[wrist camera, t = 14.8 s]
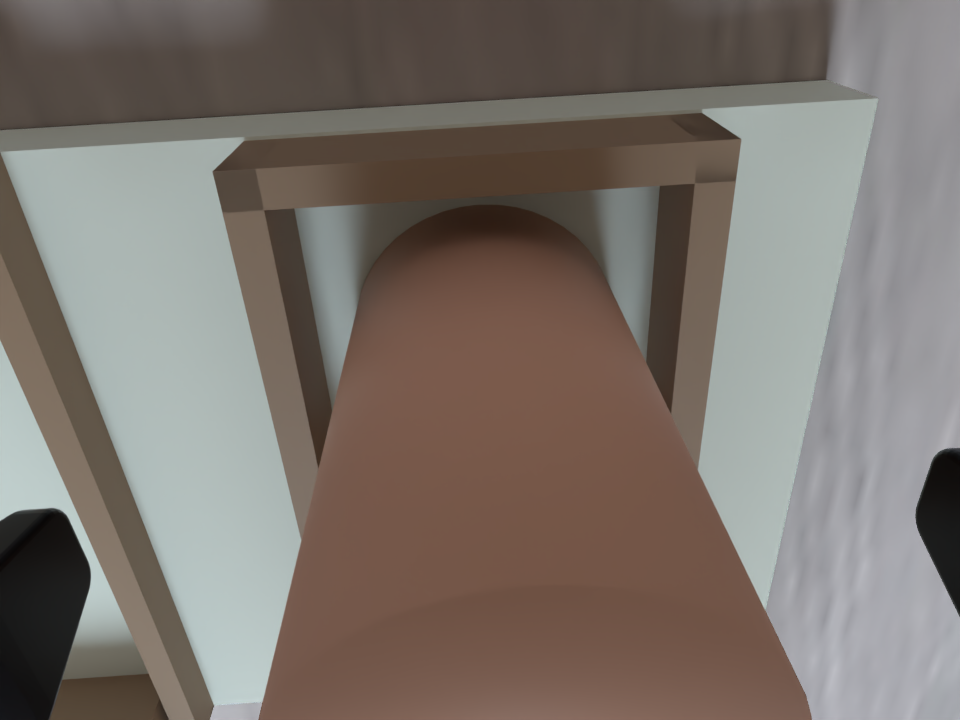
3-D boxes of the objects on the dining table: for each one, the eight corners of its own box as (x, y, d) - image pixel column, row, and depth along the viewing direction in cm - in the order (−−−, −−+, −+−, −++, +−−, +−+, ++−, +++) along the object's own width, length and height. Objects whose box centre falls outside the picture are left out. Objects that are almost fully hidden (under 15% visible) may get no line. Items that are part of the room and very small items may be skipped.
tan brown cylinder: (607, 424, 12) (765, 892, 6) (373, 440, 12) (304, 927, 6) (618, 195, 10) (870, 560, 4) (338, 213, 10) (183, 609, 4)
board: (729, 613, 17) (782, 738, 14) (-286, 682, 17) (-425, 822, 14) (827, 79, 11) (950, 123, 8) (-758, 176, 11) (-1159, 253, 8)
